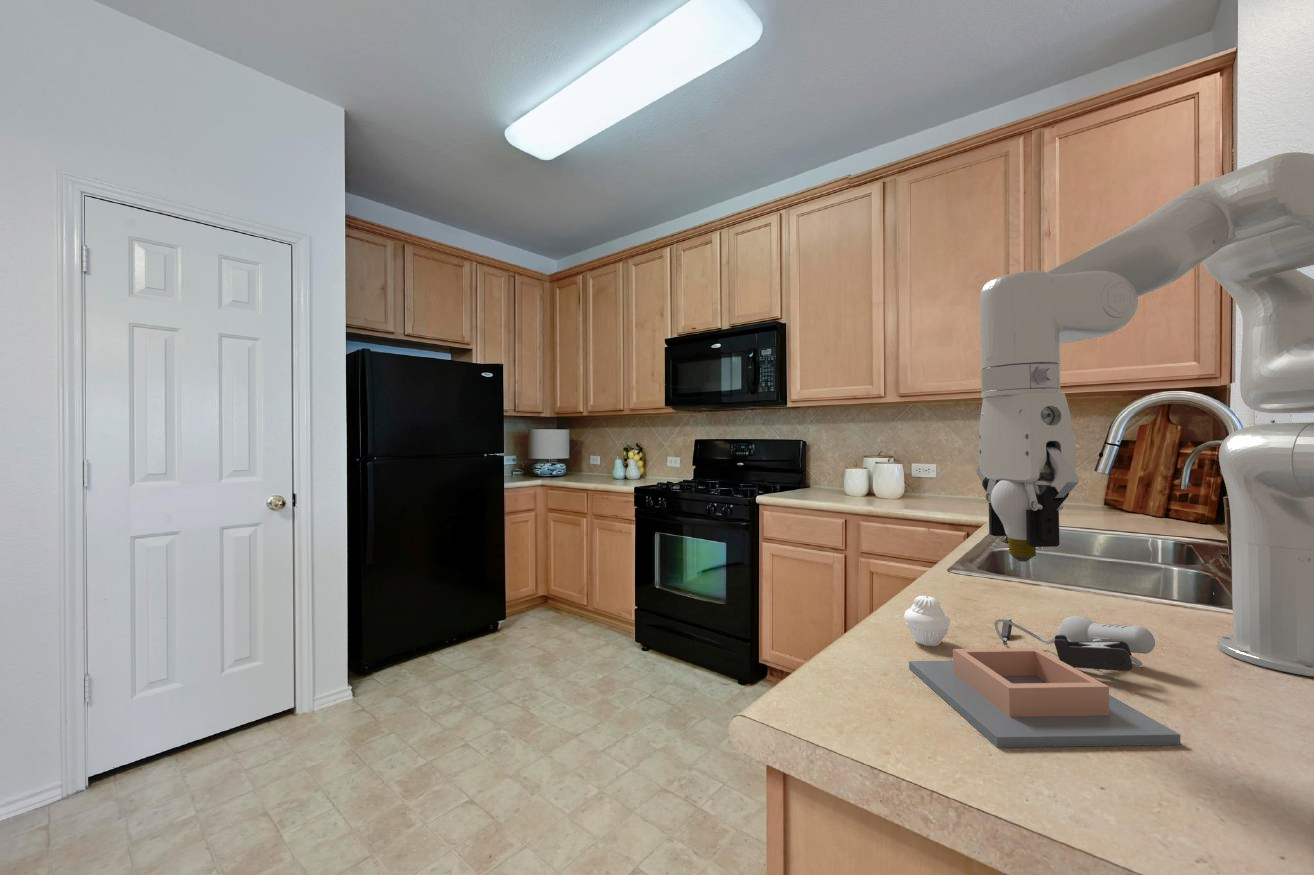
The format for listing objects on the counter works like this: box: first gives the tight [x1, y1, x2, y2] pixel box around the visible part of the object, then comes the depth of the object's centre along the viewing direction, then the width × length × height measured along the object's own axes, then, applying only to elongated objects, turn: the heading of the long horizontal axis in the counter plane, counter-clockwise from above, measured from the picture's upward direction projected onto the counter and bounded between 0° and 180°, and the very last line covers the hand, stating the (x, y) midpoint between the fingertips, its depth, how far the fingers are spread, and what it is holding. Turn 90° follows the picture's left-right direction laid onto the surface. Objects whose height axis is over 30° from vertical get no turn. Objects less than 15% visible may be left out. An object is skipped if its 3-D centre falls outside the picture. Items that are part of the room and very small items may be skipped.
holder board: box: [908, 647, 1181, 748], centre depth 61 cm, size 18×18×4 cm
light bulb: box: [990, 479, 1046, 563], centre depth 61 cm, size 6×6×10 cm
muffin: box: [903, 594, 951, 647], centre depth 79 cm, size 6×6×7 cm
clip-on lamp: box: [994, 615, 1156, 672], centre depth 73 cm, size 12×6×18 cm
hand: (1022, 539), depth 61 cm, fingers closed on light bulb, 5 cm apart
